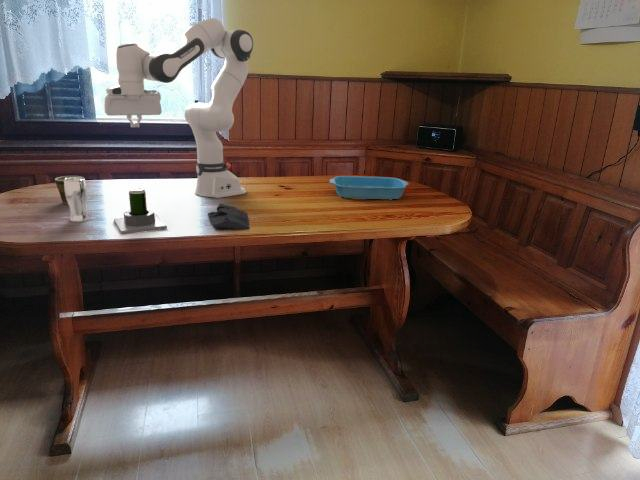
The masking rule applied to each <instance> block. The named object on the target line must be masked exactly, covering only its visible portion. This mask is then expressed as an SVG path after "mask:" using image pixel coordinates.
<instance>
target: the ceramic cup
mask: <svg viewBox="0 0 640 480" xmlns="http://www.w3.org/2000/svg"><path fill="white" fill-rule="evenodd" d="M69 177H82V176H79V175H64V176H59V177H55V179H54V182H55V185H56V187H57V189H58V193H59V196H60V199H61V201H62V204H63V205H66V206H69V205H68V202H67V199H66V195H65V189H64V179H65V178H69Z"/></svg>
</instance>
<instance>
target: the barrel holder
mask: <svg viewBox="0 0 640 480" xmlns="http://www.w3.org/2000/svg"><path fill="white" fill-rule="evenodd" d="M113 222H114V224H115V226H116V227H117V229H118V231H119V232H120V234H121V235H128V234H136V233H145V231H146V232H153V230H154V231H161V230H167V229H168V226H167V224H166V223H165V222H164V221H163V220H162V218H161V217H160V216H159V215H158V214H155V211H153V210H152V209H148V208H147V214H146V215H138V216H136V215H131V210H126V211H124V212H123V217H118V218H117V217H116V218H113Z"/></svg>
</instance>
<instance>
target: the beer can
mask: <svg viewBox="0 0 640 480" xmlns="http://www.w3.org/2000/svg"><path fill="white" fill-rule="evenodd" d="M128 196H129V198H128V199H129V206H130V208H129V209H130V210H131V215H136V216H138V215H146V214H147V209H148V206H147V196H146V190H145V188H144V187H131V188H129V191H128Z"/></svg>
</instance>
